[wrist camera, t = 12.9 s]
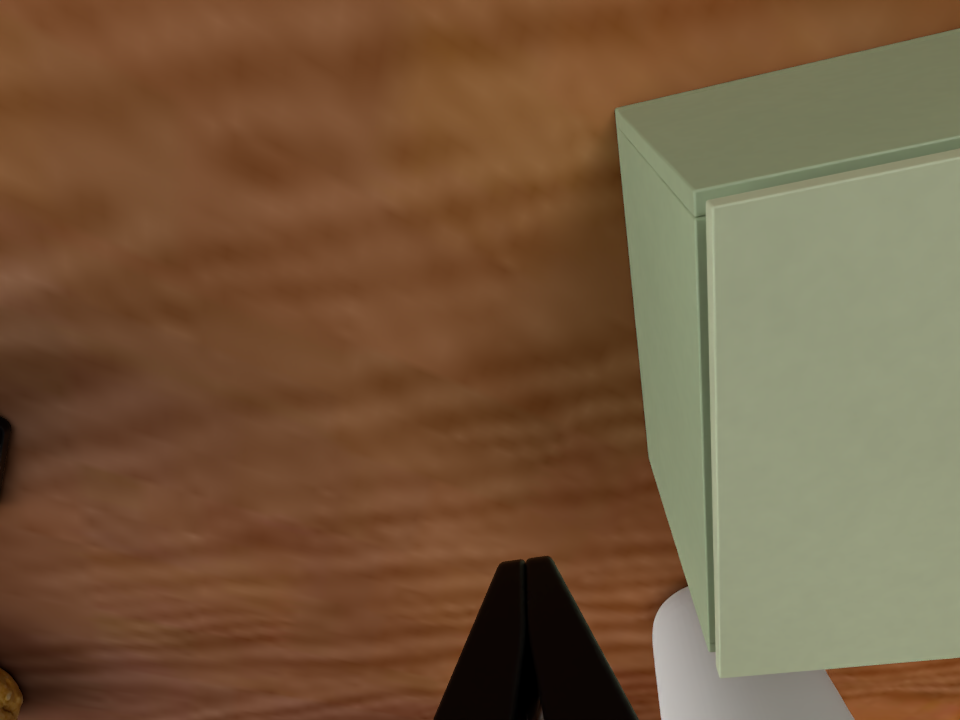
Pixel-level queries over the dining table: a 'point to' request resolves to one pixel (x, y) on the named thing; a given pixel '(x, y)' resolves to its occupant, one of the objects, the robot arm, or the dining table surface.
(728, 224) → the flap
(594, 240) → the dining table surface
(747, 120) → the carton
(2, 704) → the bagel
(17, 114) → the dining table surface
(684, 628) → the cup
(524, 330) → the dining table surface
